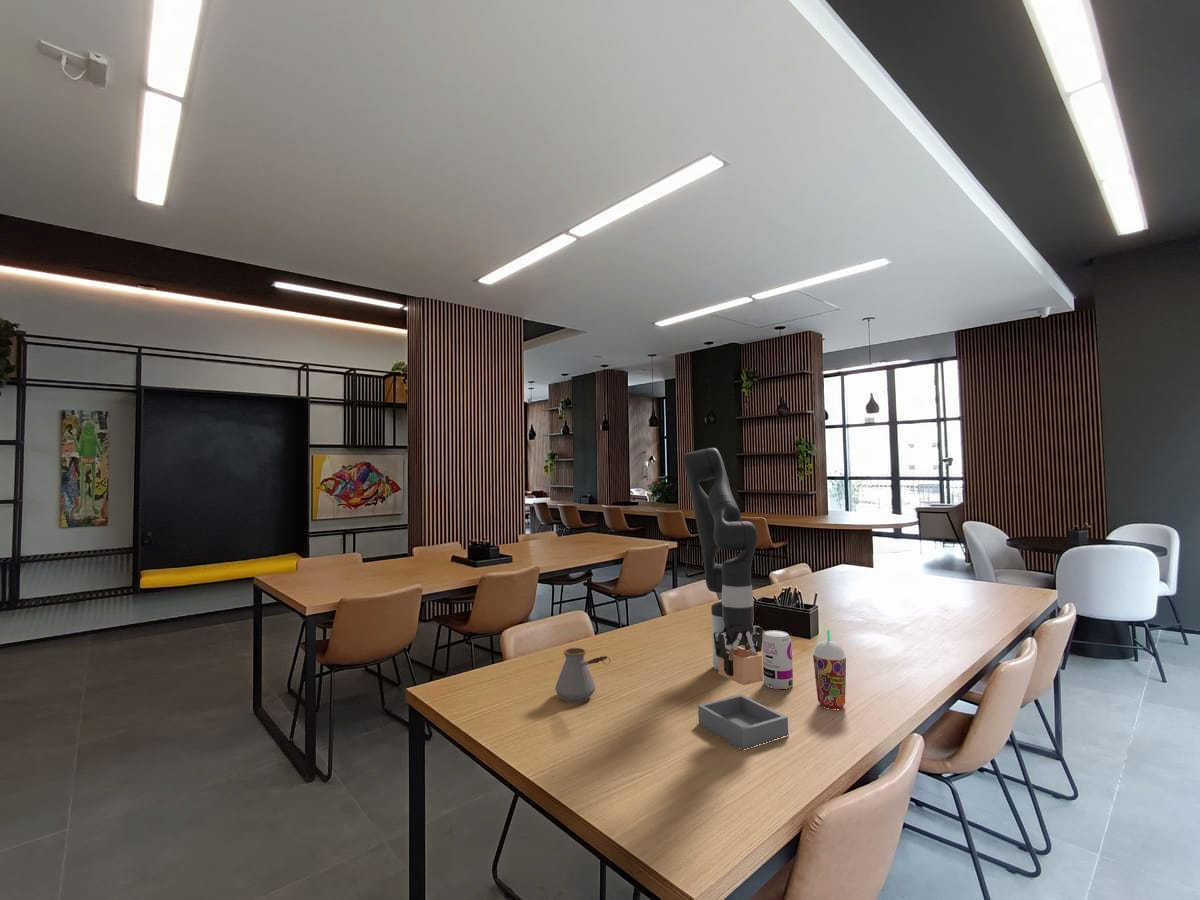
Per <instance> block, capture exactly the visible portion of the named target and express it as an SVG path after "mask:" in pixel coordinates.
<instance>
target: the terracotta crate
mask: <svg viewBox="0 0 1200 900" xmlns="http://www.w3.org/2000/svg"><path fill="white" fill-rule="evenodd" d="M729 651H730V650H729ZM728 654H729V652H728ZM732 660H733V676H729V675H727V674H726V673H725V671H724V659H722V658H720V657H718V669H719V671H718V675H721V676H723V677H725V678H727V679H728V680H731V681H732V682H735V683H738V684H739V685H741V686H746V685H751V684H755V683H760V682H764V675H763V654H760V653H758V652H757V653H755V652H751V651H749V650H747V649H745V648H742V647H739V646H738V648H737V651H736V652H734V655H733V659H732Z"/></svg>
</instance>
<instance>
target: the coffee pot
mask: <svg viewBox="0 0 1200 900" xmlns="http://www.w3.org/2000/svg"><path fill="white" fill-rule="evenodd" d="M586 653H587V650H586V649H584V648H581V647H571V648H567V649H565V650H563V655H564V657H565V661H564V663H563V665H562V668H561V671H560V674H559V676H558V678H557V682H556V684H555V692H556V694H557V695H558V696H559V697H560V698H561V700H563V701H565V702H566V701H567V703H571V704H572V703H574V702H577V703H581V702H585V701H587V700H589V698H590V697H591V696H593V694H594V693H595V690H596V683H595V681H594V679H593V677H592V674H591V672H590V669H589V667H588V665H592V664H598V663H599V662H602V663H603V664H604V665H606V663H605V662H604V661H605V660H606V659H608V660H609V662H608V663H607V665H609V664H610V663H611V659H610V658H609V657H608V656H605V655H603V656H602V655H600V657H595V658H592V659H590V660H587V661H585V654H586Z"/></svg>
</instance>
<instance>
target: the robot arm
mask: <svg viewBox="0 0 1200 900" xmlns="http://www.w3.org/2000/svg"><path fill="white" fill-rule="evenodd" d="M683 467H684V472H685V476H686V479H687V482H688V487H689V490H690V491H689V492H690V494H691V500H692V505H693V509H694V510H693V511H694V516H695V523H696V529H697V533H698V534H697V535H698V537H699V542H700V547H701V552H702V559H703V560H702V561H703V569H704V570H703V571H704V579H705V584H706V588H707V589H708V591H710V592H712V593H718V594H719V593H721V601H718V602H715V603H713V604H711V607H710V608H711V609H710V610H711V612H710V613H711V641H712V667H713V669H714V670H715V671H718V672H719V669H718V657H720V658H722V659H724V671H725V673H726V674H727V675H729V676H733V660H732V659H733V655H734V652H736V651H737V648H738V646H739V647H742V648H744V649H747V650H749V651H751V652H755V653H757V654H758V652H760V653H761V652H762V651H763V648H762V637H763V635H764V628H763V627H762V626H759V625H755V624H754V625H753V623H754V622H755V611H754V593H753V585H752V566H753V565H752V564H753V560H754V559H753V558H754V554H755V551H756V548H757V547H756V546H757V543H758V538H759V537H758V530H757V527H756V526H755V524H754V523H752V522H750V521H745V520H743V521H740V520H741V512H740V509H739V506H738V504H737V503H736V500H735V498H734V496H733V493H732V489H731V486H730V480H729V478H728V477H729V476H728V475H727V470H726V468H725V463H724V460H723V458H722V455H721V453H720V451H719V450H718V449H717V448H716V447H708V448H704V449H703V448H702V449H699V450H695V451H690V452H687V453H685V454H684V456H683ZM713 479H714V482H713V484H712V487H711V488H710V490H709V492H708V493H709V494H707V493H706V492H705V491H704V489H703V488H702V486H701V485H700V483H701V482H705V481H710V480H713ZM720 550H722V551H740V552H739V553H738V555H737V556H735V557H733V558H729V559H727V560H724V561H723V562H722V563H716V557H717V554H718V552H719V551H720ZM729 650H730V651H729ZM728 652H729V654H728Z"/></svg>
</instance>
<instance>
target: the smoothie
mask: <svg viewBox="0 0 1200 900" xmlns="http://www.w3.org/2000/svg"><path fill="white" fill-rule="evenodd" d="M826 635H827V636H826V639H823V640H821V641H819V642H818V643H817V644H816V646H815V647H814V650H813V651H812V656H813V657H812V658H813V668H814V677H815V685H816V695H817V698H816V699H817V701H818V702H819V705H820V704H821V705H820V707H822V706H823V707H825V708H829V709H836V710H835V711H838V710H837V709H841V710H842V708H843V709H844V705H845V704H846V690H847V689H846V685H847V684H846V682H847V681H846V679H847V674H846V673H847V653H845V651H844V649H843V648H842V646H841V645H840V644H839V643H838V642H836V641H834V640H831V635H830V629H826ZM823 707H822V708H823ZM825 708H824V709H825Z"/></svg>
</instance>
